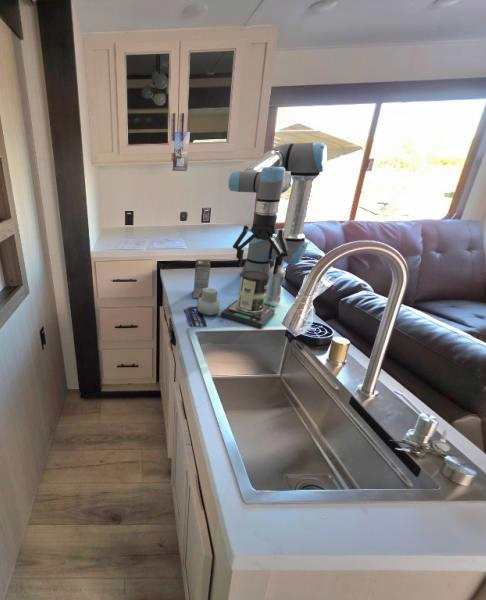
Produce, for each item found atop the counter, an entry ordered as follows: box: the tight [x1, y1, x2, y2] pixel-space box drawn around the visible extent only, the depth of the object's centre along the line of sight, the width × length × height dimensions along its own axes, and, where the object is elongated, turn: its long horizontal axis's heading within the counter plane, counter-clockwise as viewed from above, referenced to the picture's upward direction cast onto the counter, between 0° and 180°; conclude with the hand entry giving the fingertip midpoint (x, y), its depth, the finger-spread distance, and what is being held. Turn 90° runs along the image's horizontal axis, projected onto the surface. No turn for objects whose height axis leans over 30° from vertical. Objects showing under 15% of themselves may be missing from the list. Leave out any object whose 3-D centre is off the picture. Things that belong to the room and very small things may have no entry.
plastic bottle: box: [264, 259, 286, 307], centre depth 133 cm, size 6×7×20 cm
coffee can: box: [237, 271, 270, 313], centre depth 125 cm, size 10×10×14 cm
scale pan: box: [228, 301, 272, 320], centre depth 128 cm, size 13×13×1 cm
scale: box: [220, 299, 276, 330], centre depth 127 cm, size 16×16×2 cm
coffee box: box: [192, 259, 211, 300], centre depth 144 cm, size 9×6×16 cm
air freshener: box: [196, 287, 221, 316], centre depth 128 cm, size 11×8×10 cm
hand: (256, 269), depth 121 cm, fingers open, 13 cm apart
